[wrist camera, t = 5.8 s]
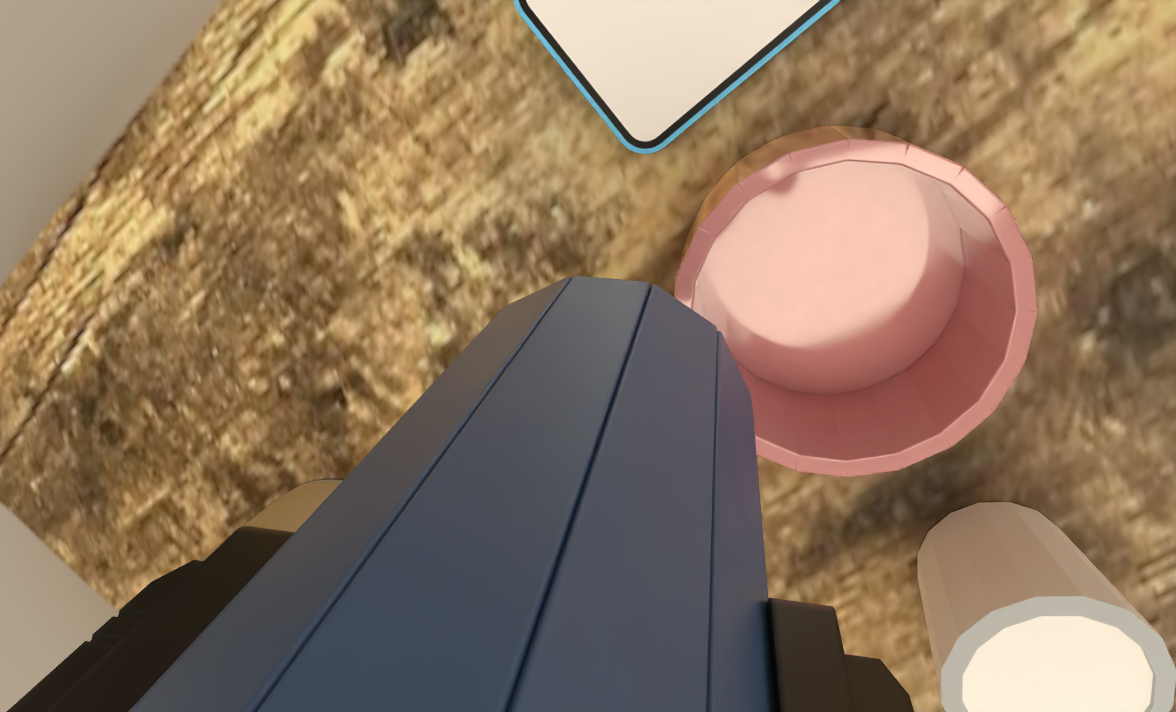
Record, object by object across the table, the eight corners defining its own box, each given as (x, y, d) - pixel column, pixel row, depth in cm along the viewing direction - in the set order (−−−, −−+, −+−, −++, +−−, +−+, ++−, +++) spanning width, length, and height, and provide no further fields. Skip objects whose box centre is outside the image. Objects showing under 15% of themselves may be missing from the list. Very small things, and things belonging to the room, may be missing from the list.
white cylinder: (882, 507, 32) (919, 618, 26) (1072, 469, 31) (1163, 578, 24) (919, 650, 34) (963, 788, 28) (1100, 622, 32) (1192, 762, 26)
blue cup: (766, 292, 15) (891, 972, 4) (731, 559, 17) (746, 1550, 6) (465, 265, 16) (-199, 767, 4) (464, 523, 17) (-2, 1338, 6)
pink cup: (1008, 136, 27) (1078, 155, 22) (945, 418, 31) (991, 496, 25) (699, 115, 29) (690, 127, 23) (672, 386, 32) (658, 454, 27)
